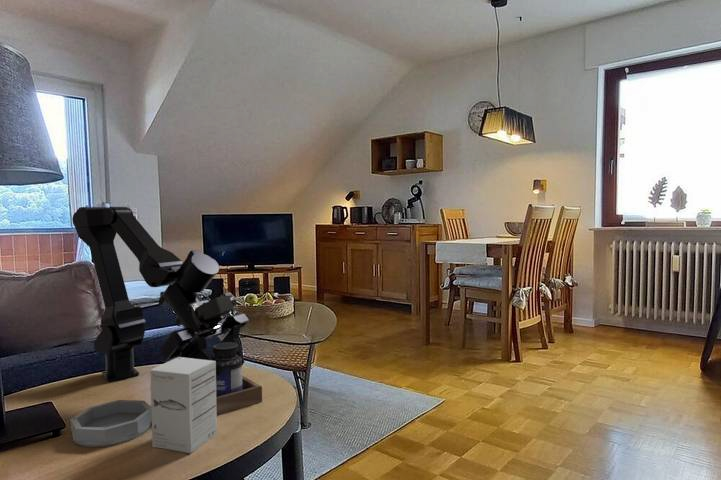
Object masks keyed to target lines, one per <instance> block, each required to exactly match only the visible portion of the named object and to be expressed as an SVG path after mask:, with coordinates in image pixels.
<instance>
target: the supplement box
mask: <svg viewBox="0 0 721 480" xmlns="http://www.w3.org/2000/svg"><path fill="white" fill-rule="evenodd" d="M149 376H150V404H151V405H150V407H151V413H152V421H151V438H152V439H151V444H152V445H151V446H152V448H159V449H165V450H171V451H176V452H181V453H186V454H192V453H194V452H195V451H196V450H198V449H199V448H200V447H202V446H203V445H204V444H206V443H207V442H209V440H211V439H212V438H213V437H215V436H216V434H218V433H217V432H218V430H217V429H218V427H217V422H218V421H217V418H218V415H217V408H216V361H212V360H202V359H193V358H184V357H180V356H179V357H177V358H174V359H171V360H168V361H166V362H164V363H162V364H160V365H157V366H155V367H153V368H152V369H150V374H149Z"/></svg>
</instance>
